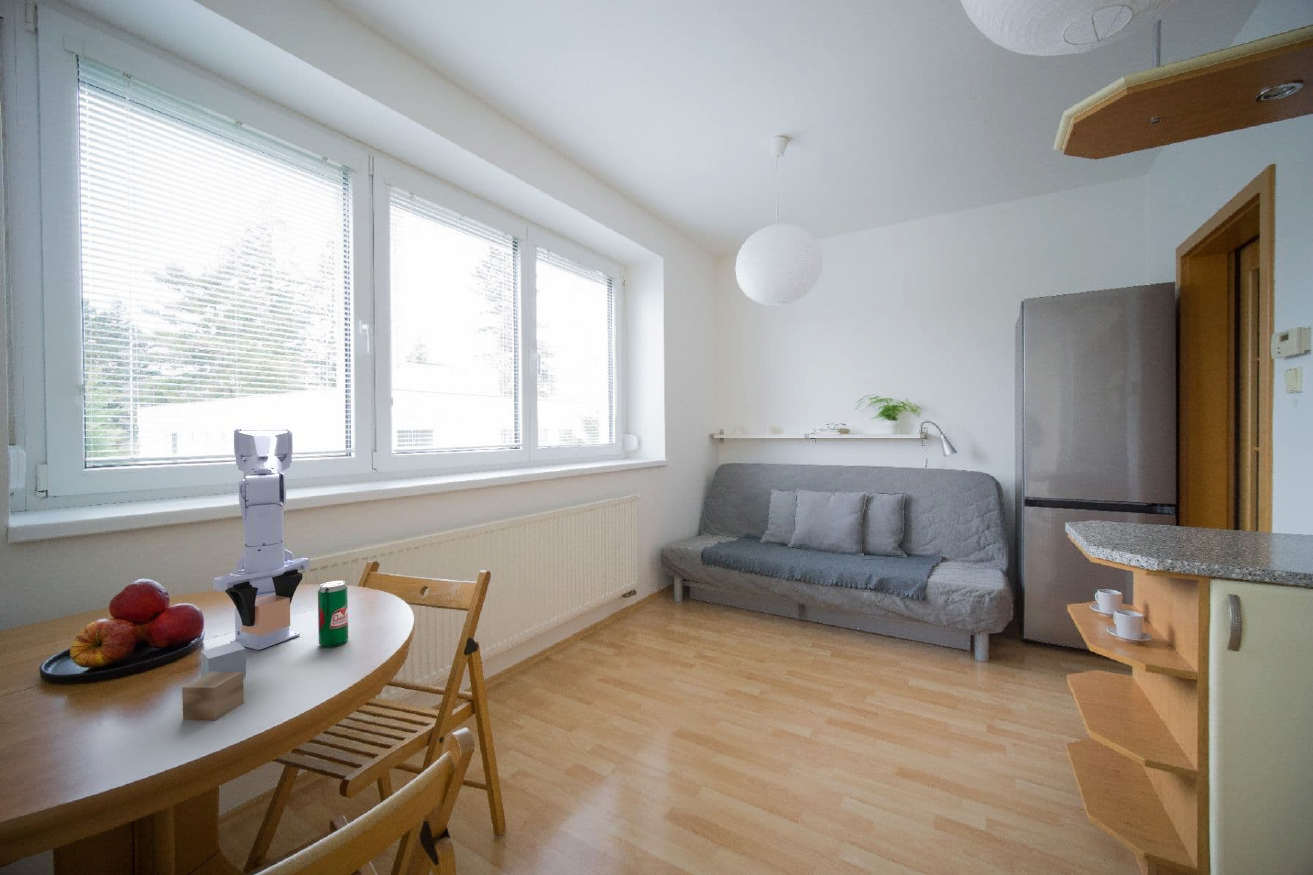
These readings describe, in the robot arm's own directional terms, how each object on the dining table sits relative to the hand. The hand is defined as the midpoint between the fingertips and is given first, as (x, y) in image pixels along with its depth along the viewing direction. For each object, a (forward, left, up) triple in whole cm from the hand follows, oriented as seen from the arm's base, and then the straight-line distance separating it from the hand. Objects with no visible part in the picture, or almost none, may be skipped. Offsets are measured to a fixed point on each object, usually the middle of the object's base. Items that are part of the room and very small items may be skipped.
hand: (265, 619), depth 91 cm
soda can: (-1, +13, -10) cm, 16 cm away
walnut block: (+6, -11, -10) cm, 16 cm away
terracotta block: (0, 0, -2) cm, 2 cm away
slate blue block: (-5, -4, -10) cm, 11 cm away
